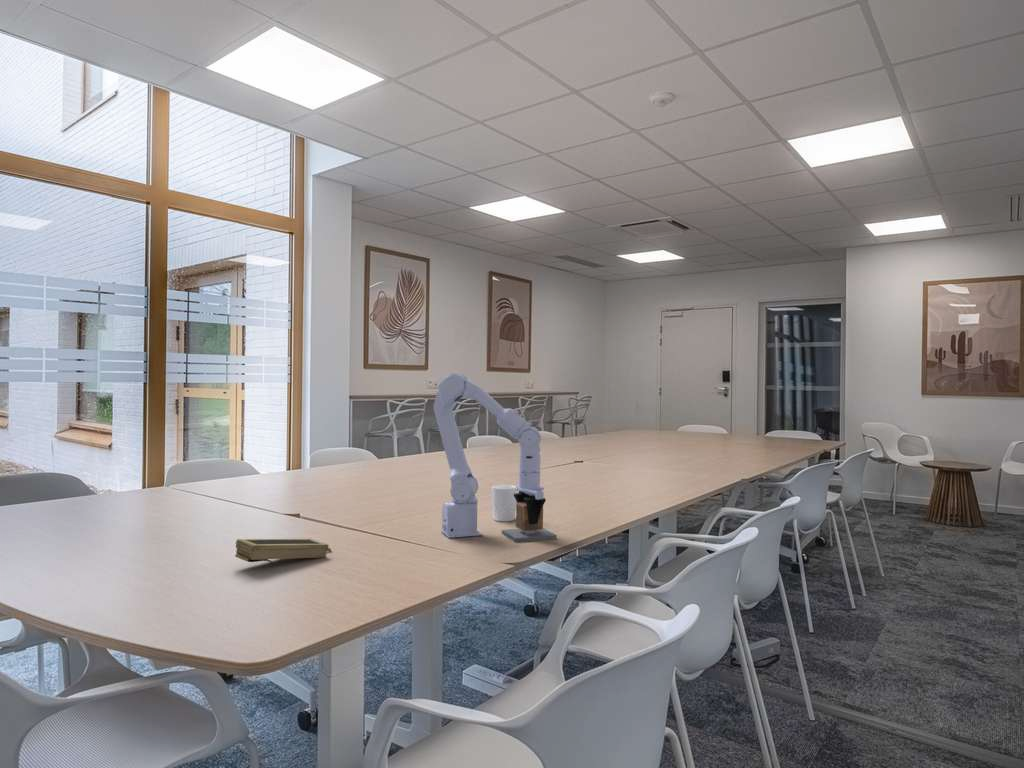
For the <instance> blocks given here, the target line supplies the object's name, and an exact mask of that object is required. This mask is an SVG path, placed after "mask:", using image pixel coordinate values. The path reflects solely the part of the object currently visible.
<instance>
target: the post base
mask: <svg viewBox="0 0 1024 768" xmlns="http://www.w3.org/2000/svg"><path fill="white" fill-rule="evenodd" d="M501 534H502V535H504V537H507V538H508V539H509V540H510V541H513V542H514V543H521V542H522V543H523V542H524V543H525V542H534V541H543V540H544V541H547V540H557V537H558V536H557V534H556V533H554V532H552V531H550V530H548V529H546V528H544V527H543V530H530V531H523V530H521V529H519V528H512V529H511V528H509V529H501Z"/></svg>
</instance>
